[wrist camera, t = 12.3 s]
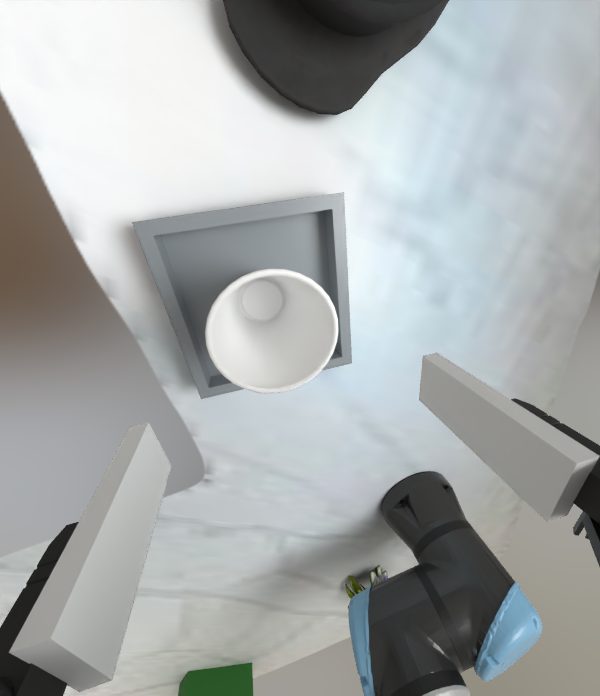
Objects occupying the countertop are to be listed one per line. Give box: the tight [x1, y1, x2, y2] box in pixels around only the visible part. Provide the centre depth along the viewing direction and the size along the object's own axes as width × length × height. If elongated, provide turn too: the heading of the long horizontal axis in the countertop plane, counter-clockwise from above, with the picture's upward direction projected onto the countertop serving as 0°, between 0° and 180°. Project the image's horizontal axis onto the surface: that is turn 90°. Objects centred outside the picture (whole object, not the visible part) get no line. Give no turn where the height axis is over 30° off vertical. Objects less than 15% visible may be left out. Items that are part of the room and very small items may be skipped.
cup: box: [205, 269, 338, 393], centre depth 24 cm, size 10×10×11 cm
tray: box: [132, 192, 352, 399], centre depth 28 cm, size 18×18×4 cm
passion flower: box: [346, 566, 388, 609], centre depth 63 cm, size 11×11×12 cm
